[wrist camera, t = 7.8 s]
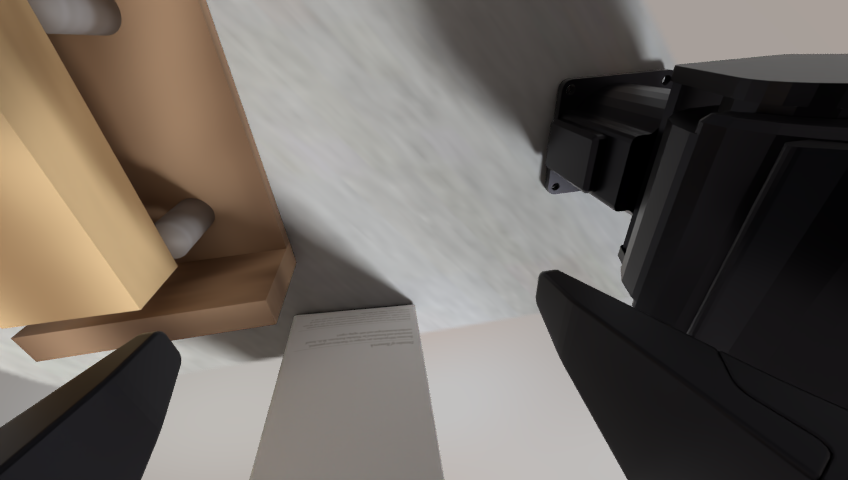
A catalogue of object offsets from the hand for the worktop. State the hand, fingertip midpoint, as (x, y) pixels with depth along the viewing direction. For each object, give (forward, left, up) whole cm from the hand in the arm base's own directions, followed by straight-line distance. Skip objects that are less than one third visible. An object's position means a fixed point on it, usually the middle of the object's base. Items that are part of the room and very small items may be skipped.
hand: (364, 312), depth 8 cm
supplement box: (+3, +15, -12) cm, 20 cm away
